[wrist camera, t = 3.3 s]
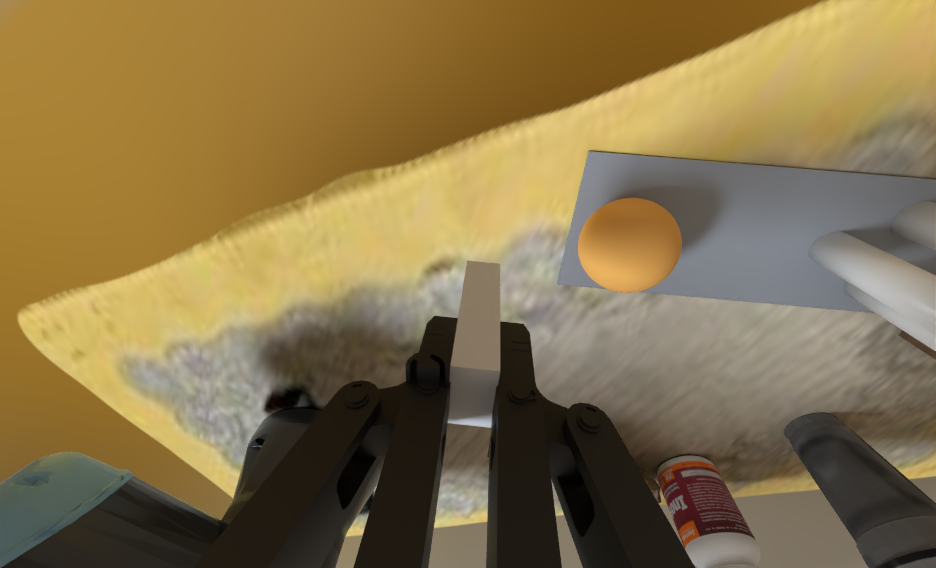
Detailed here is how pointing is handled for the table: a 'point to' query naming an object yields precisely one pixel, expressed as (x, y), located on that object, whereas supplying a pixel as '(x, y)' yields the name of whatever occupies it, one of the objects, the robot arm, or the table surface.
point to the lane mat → (752, 224)
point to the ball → (629, 245)
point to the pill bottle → (706, 515)
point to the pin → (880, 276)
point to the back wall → (918, 344)
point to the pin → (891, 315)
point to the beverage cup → (867, 494)
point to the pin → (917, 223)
